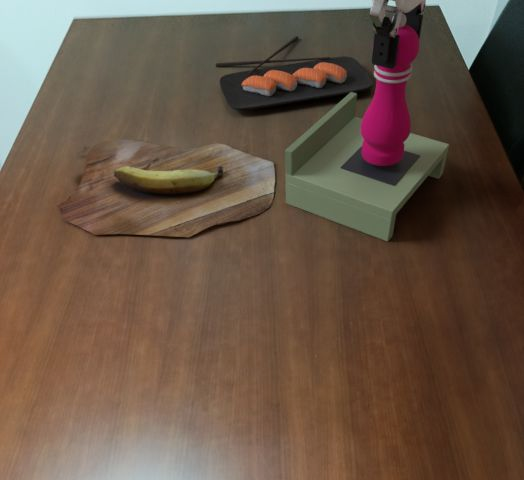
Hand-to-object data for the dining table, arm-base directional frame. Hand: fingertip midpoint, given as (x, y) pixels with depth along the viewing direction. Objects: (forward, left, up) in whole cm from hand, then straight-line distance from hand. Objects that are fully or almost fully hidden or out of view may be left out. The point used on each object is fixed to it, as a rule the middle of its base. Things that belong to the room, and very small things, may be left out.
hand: (395, 54), depth 77 cm
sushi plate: (+35, -27, -22) cm, 49 cm away
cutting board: (+30, +16, -22) cm, 41 cm away
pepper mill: (0, 0, -15) cm, 15 cm away
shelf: (+2, 0, -22) cm, 22 cm away
